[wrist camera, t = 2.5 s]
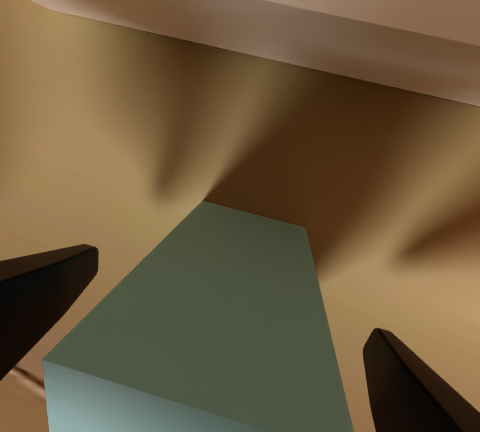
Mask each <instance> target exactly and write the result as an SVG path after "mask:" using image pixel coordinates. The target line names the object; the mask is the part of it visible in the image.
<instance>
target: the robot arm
mask: <svg viewBox="0 0 480 432" xmlns="http://www.w3.org/2000/svg"><path fill="white" fill-rule="evenodd" d="M98 254H99V252H98V249H97V248H96V247H94V246H91V245H87V244H82V245H77V246H72V247H67V248H62V249H57V250H52V251H47V252H43V253H38V254H33V255H28V256H23V257H18V258H13V259H8V260H3V261H0V381H1V380H2V379H3V378H4V377H5V376H6V374H7V373H8V372H9V371H10V370H11V369H12V368H13V367H14V366H15V365H16V364H17V363H18V362H19V361H20V360H21V359H22V358H23V357H24V356H25V355H26V354H27V353H28V352H29V351H30V350H31V349H32V348H33V347H34V346H35V344H36V343H37V342H38V341H39V340H40V339H41V338H42V337H43V336H44V335H45V334H46V333H47V332H48V331H49V330H50V329H51V328H52V327H53V326H54V325H55V324H56V323H57V322H58V321H59V320H60V318H61V317H62V316H63V315H64V314H65V313H66V312H67V311H68V309H69V308H70V307H71V306H72V304H73V303H74V302H75V301H76V299H77V298H78V297H79V296H80V294H81V293H82V292H83V291H84V289H85V288H86V287H87V286H88V284H89V283H90V282H91V281H92V279H93V278H94V277H95V276H96V274H97V272H98ZM363 359H364V366H365V373H366V380H367V388H368V395H369V401H370V407H371V412H372V417H373V421H374V425H375V429H376V432H480V412H478V411H477V410H476V409H475V408H474V407H473V406H472V405H471V404H470V403H469V402H467V401H466V400H465V399H464V398H463V397H462V396H461V395H460V394H459V393H458V392H456V391H455V390H454V389H453V388H452V387H451V386H450V385H449V384H448V383H447V382H446V381H444V380H443V379H442V378H441V377H440V376H439V375H438V374H437V373H436V372H435V371H433V370H432V369H431V368H430V367H429V366H428V365H427V364H426V363H425V362H424V361H422V360H421V359H420V358H419V357H418V356H417V355H416V354H415V353H414V352H413V351H412V350H410V349H409V348H408V347H407V346H406V345H405V344H404V343H403V342H402V341H401V340H399V339H398V338H397V337H396V336H395V335H394V334H393V333H392V332H390V331H388V330H384V329H381V328H375V329H374V330H373V331H372V333H371V334H370V336H369V338H368V340H367V342H366V343H365V345H364V348H363Z"/></svg>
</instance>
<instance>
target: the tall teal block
mask: <svg viewBox="0 0 480 432" xmlns="http://www.w3.org/2000/svg"><path fill="white" fill-rule="evenodd" d="M42 363H43V373H44V383H45V393H46V403H47V413H48V423H49V432H354V431H353V426H352V422H351V418H350V414H349V409H348V405H347V401H346V397H345V392H344V388H343V384H342V380H341V376H340V371H339V367H338V363H337V359H336V354H335V350H334V346H333V342H332V337H331V333H330V329H329V325H328V320H327V316H326V312H325V308H324V303H323V299H322V295H321V291H320V286H319V282H318V278H317V274H316V270H315V265H314V261H313V257H312V253H311V248H310V244H309V240H308V236H307V231H306V228H305V227H301V226H298V225H294V224H290V223H286V222H282V221H279V220H275V219H271V218H267V217H263V216H260V215H256V214H252V213H248V212H245V211H241V210H237V209H233V208H229V207H226V206H222V205H218V204H214V203H210V202H207V201H202V202H201V203H200V204H199V205H198V206H197V207H196V208H195V209H194V210H193V211H192V212H191V213H190V214H189V215H188V216H187V217H186V218H185V219H184V220H182V221H181V222H180V223H179V224H178V225H177V226H176V227H175V228H174V229H173V230H172V231H171V232H170V233H169V234H168V235H167V236H166V237H165V238H164V239H163V240H162V241H161V242H160V243H159V244H158V245H157V246H156V247H155V248H154V249H153V250H152V251H151V252H150V253H149V254H148V255H147V256H146V257H145V258H144V259H143V260H142V261H141V262H140V263H139V264H138V265H137V266H136V267H135V268H134V269H133V270H132V271H131V272H130V273H129V274H128V275H127V276H126V277H125V278H124V279H123V280H122V281H121V282H120V283H119V284H118V285H117V286H116V287H115V288H114V289H113V290H112V291H111V292H110V293H109V294H108V295H107V296H106V297H105V298H104V299H103V300H102V301H101V302H100V303H99V304H98V305H97V306H96V307H95V308H94V309H93V310H92V311H91V312H90V313H89V314H88V315H87V316H86V317H85V318H84V319H83V320H82V321H80V322H79V323H78V324H77V325H76V326H75V327H74V328H73V329H72V330H71V331H70V332H69V333H68V334H67V335H66V336H65V337H64V338H63V339H62V340H61V341H60V342H59V343H58V344H57V345H56V346H55V347H54V348H53V349H52V350H51V351H50V352H49V353H48V354H47V355H46V356H45V357H44V358H43V359H42Z"/></svg>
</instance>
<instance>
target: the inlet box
mask: <svg viewBox="0 0 480 432" xmlns="http://www.w3.org/2000/svg"><path fill="white" fill-rule="evenodd" d="M31 1H33V2H36V3H38V4H40V5H42V6H44V7H46V8H48V9H50V10H54V11H58V12H63V13H67V14H72V15H76V16H80V17H85V18H89V19H94V20H98V21H103V22H107V23H112V24H116V25H120V26H125V27H129V28H134V29H138V30H143V31H147V32H151V33H156V34H160V35H165V36H169V37H174V38H178V39H182V40H187V41H191V42H196V43H200V44H205V45H209V46H214V47H218V48H222V49H227V50H231V51H236V52H240V53H245V54H249V55H253V56H258V57H262V58H267V59H271V60H276V61H280V62H285V63H289V64H293V65H298V66H302V67H307V68H311V69H316V70H320V71H324V72H329V73H333V74H338V75H342V76H347V77H351V78H355V79H360V80H364V81H369V82H373V83H378V84H382V85H387V86H391V87H395V88H400V89H404V90H409V91H413V92H418V93H422V94H426V95H431V96H435V97H440V98H444V99H449V100H453V101H458V102H462V103H466V104H471V105H475V106H480V0H31Z"/></svg>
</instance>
